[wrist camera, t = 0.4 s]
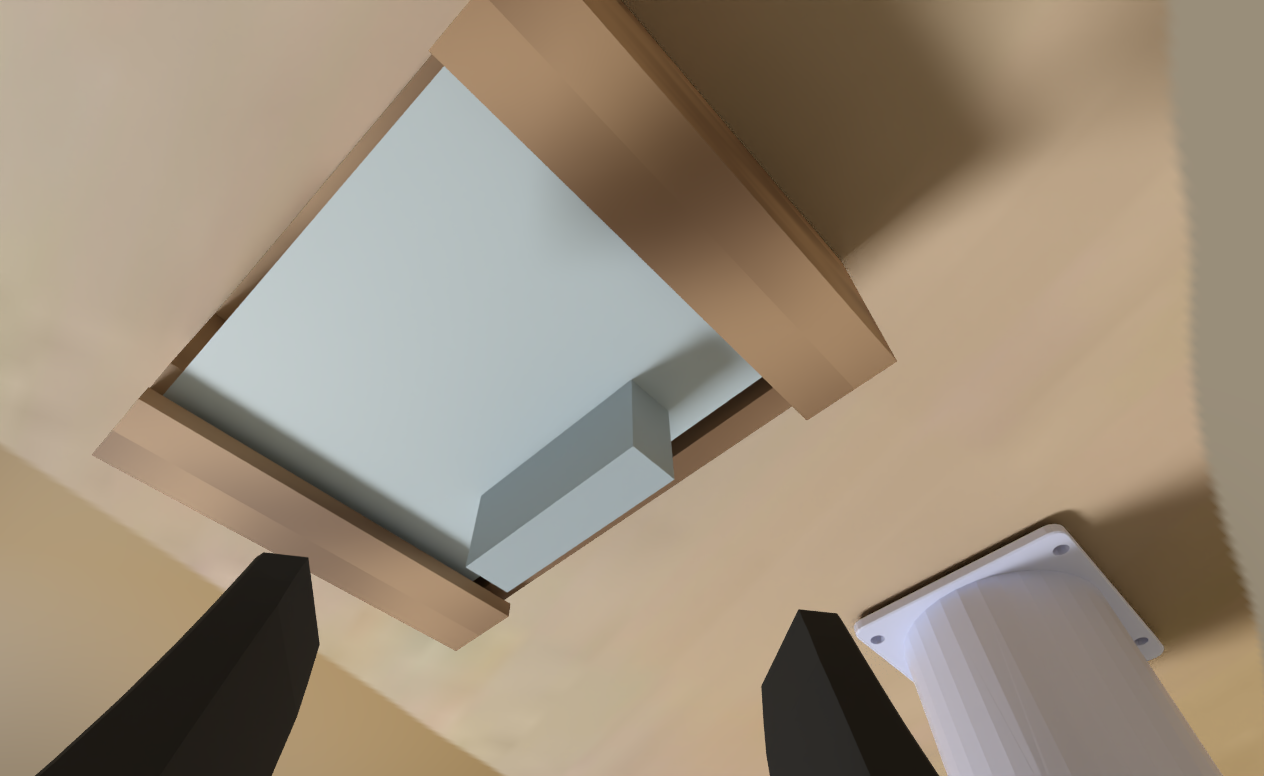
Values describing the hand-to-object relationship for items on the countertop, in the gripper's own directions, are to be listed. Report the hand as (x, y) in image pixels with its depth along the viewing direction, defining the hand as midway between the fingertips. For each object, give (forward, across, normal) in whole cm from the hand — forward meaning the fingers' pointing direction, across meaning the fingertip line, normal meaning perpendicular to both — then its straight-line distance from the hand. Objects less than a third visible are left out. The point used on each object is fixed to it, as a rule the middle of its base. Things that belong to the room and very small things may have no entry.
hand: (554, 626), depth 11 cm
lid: (+7, +2, 0) cm, 7 cm away
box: (+10, +2, 0) cm, 10 cm away
